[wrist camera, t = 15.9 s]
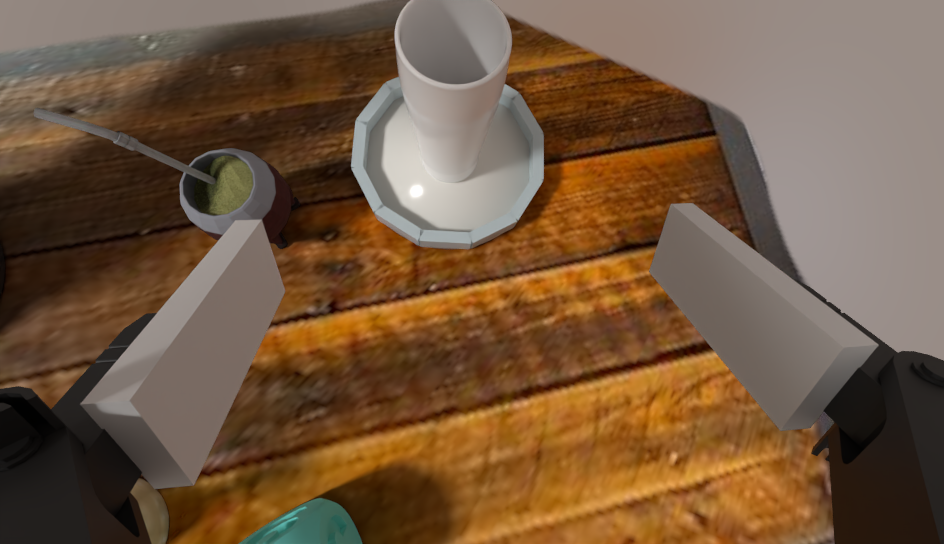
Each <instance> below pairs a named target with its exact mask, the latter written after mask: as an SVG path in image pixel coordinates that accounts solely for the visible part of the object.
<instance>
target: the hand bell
mask: <svg viewBox="0 0 944 544" xmlns="http://www.w3.org/2000/svg"><path fill="white" fill-rule="evenodd" d="M130 493H131V494H132V495H133V496H134V497H135V498H136V500H137V501H138V504H139V507H140V510H141V513H142V516H143V519H144V522H145V525H146V528H147V531H148V534H149V537H150V540H151V543H152V544H166V541H167V538H168V532H169V515H168V510H167V506H166V504H165V501H164V499H163V498H162V496H161V494H160V493H159V492H158V491H157V489H154V488H153V487H152V486H151V484H150V483H149V482H146V481H145V480H143V479H141V478H139V479H138V480H137V482H136V484H135V485H134V487H133V489H132V490H131V492H130Z"/></svg>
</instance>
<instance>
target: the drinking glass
mask: <svg viewBox="0 0 944 544" xmlns="http://www.w3.org/2000/svg"><path fill="white" fill-rule="evenodd" d="M395 48H396V58H397V67H398V74H399V80H400V85H401V89H402V94H403V98H404V101H405V104H406V108H407V111H408V114H409V118H410V121H411V124H412V127H413V131H414V134H415V137H416V141H417V144H418V148H419V151H420V159H421V162H422V165H423V167H424V169H425V170H426V172H427V173H428V174H429V175H430V176H432V177H433V178H435V179H436V180H439V181H441V182H446V183H454V182H459V181H462V180H464V179H465V178H467V177H468V176H470V175H471V174H472V172H473V171H474V170H475V168H476V166H477V163H478V160H479V155H480V152H481V149H482V146H483V144H484V141H485V138H486V136H487V133H488V131H489V128H490V125H491V123H492V120H493V118H494V115H495V113H496V110H497V107H498V105H499V102H500V99H501V96H502V92H503V89H504V85H505V81H506V76H507V71H508V66H509V60H510V53H511V48H512V34H511V29H510V26H509V23H508V21H507V19H506V17H505V15H504V13H503V12H502V11H501V9H500V8H499V7H498V6H497V5H496V4H495V3H494V2H493V1H492V0H410V1H409V2H408V3H407V4H406V5H405V7H404V8H403V9H402V11H401V13H400V15H399V17H398V19H397V22H396V26H395Z"/></svg>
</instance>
